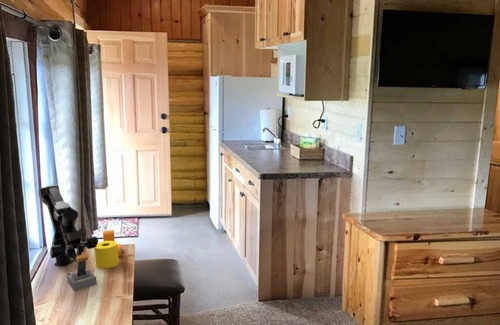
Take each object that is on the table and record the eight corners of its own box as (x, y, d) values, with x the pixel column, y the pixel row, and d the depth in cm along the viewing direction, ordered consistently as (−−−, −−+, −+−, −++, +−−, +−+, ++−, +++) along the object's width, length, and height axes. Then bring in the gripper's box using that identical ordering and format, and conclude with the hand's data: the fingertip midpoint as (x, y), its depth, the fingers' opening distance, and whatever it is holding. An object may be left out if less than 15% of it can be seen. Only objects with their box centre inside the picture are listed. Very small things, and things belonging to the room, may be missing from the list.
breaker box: (67, 282, 190) (66, 271, 189) (89, 276, 195) (88, 265, 194) (74, 291, 182) (72, 279, 181) (96, 284, 187) (95, 272, 186)
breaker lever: (75, 275, 187) (76, 256, 181) (85, 272, 189) (86, 253, 183) (76, 278, 186) (77, 259, 180) (86, 275, 188) (87, 256, 182)
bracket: (120, 257, 215) (118, 233, 213) (105, 259, 213) (102, 235, 211) (121, 249, 225) (119, 226, 223) (106, 251, 223) (103, 227, 221)
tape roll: (117, 267, 203) (115, 247, 201) (94, 269, 202) (92, 249, 200) (120, 258, 213) (118, 239, 211) (98, 260, 211) (96, 241, 210)
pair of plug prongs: (67, 276, 196) (67, 273, 196) (80, 272, 199) (80, 269, 199) (72, 281, 190) (72, 279, 190) (85, 278, 193) (85, 275, 193)
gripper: (48, 228, 182) (58, 262, 175) (94, 218, 193) (105, 250, 186) (45, 241, 190) (55, 274, 183) (90, 231, 201) (101, 262, 194)
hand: (80, 264), depth 186 cm, fingers closed
